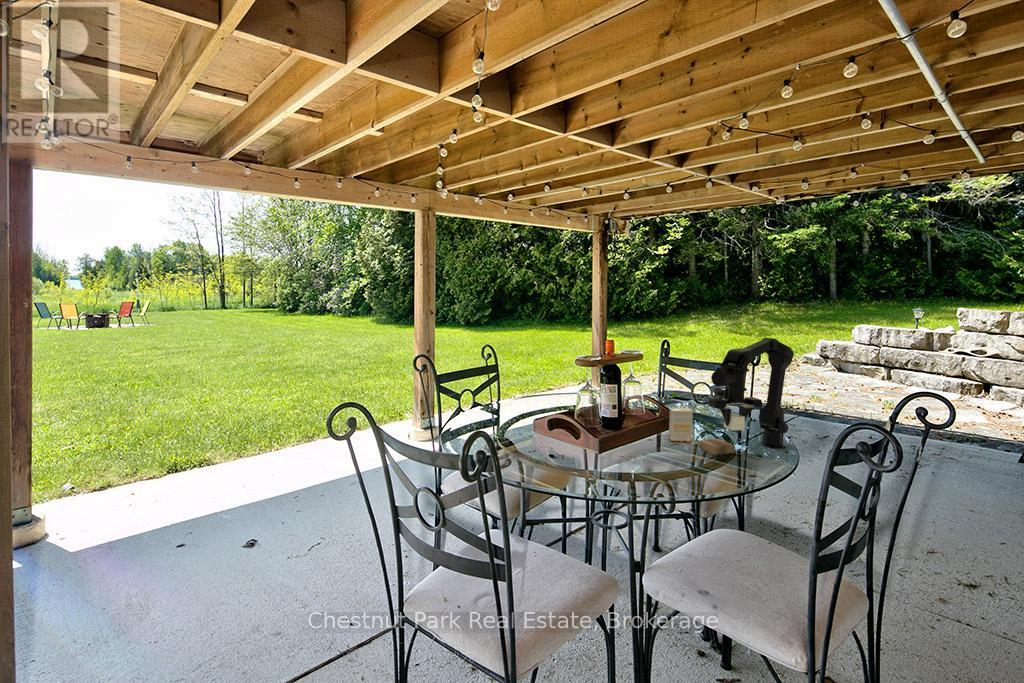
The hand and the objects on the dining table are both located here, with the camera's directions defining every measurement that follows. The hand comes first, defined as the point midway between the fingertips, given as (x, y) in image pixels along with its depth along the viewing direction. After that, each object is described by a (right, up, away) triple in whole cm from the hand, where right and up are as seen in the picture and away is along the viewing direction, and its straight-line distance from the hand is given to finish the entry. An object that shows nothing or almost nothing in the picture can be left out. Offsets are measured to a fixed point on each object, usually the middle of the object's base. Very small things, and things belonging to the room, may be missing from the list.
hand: (733, 425), depth 189 cm
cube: (0, -1, 0) cm, 1 cm away
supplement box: (-14, -9, +18) cm, 25 cm away
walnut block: (-4, -11, +6) cm, 13 cm away
